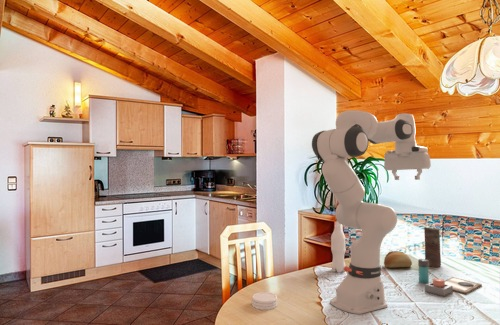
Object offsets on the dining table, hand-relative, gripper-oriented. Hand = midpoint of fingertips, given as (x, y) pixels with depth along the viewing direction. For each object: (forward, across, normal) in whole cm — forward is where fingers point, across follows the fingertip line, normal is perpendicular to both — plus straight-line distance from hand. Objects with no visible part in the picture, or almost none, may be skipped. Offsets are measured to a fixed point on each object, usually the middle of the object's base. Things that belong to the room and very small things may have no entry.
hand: (406, 179), depth 158 cm
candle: (+46, -6, +37) cm, 59 cm away
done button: (+46, +12, 0) cm, 47 cm away
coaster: (+48, -26, -64) cm, 84 cm away
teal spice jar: (+47, +2, +7) cm, 48 cm away
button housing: (+48, +12, 0) cm, 49 cm away
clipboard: (+47, +14, +14) cm, 51 cm away
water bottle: (+46, -33, -9) cm, 57 cm away
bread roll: (+46, -17, +20) cm, 53 cm away
